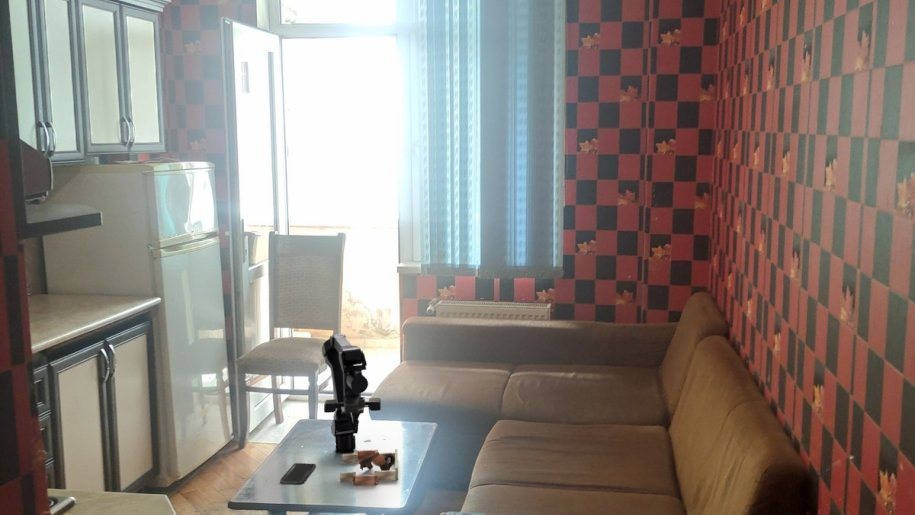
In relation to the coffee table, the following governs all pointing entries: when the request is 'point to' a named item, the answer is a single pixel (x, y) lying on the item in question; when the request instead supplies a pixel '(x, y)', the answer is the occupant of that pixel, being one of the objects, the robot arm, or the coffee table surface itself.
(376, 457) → the pottery mug
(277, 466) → the coffee table surface
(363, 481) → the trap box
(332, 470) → the coffee table surface
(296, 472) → the phone
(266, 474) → the coffee table surface
